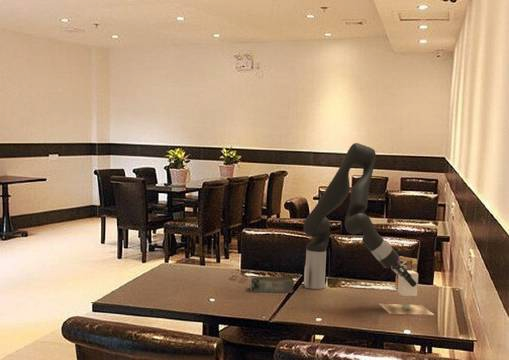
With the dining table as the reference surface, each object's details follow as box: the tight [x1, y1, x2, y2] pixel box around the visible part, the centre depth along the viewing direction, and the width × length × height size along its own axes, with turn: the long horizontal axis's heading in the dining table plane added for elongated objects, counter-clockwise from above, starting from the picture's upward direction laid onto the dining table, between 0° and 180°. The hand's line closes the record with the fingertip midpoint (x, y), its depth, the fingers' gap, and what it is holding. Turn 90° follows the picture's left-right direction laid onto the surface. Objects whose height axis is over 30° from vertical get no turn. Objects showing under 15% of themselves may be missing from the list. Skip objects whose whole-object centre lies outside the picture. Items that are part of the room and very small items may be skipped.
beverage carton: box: [249, 275, 295, 294], centre depth 260 cm, size 8×19×7 cm, turn 95°
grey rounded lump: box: [401, 302, 411, 310], centre depth 235 cm, size 3×3×2 cm
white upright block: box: [397, 270, 419, 297], centre depth 234 cm, size 6×6×9 cm
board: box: [379, 303, 435, 316], centre depth 235 cm, size 18×15×1 cm
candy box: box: [394, 255, 418, 288], centre depth 273 cm, size 9×4×15 cm, turn 39°
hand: (411, 283), depth 234 cm, fingers closed on white upright block, 6 cm apart
